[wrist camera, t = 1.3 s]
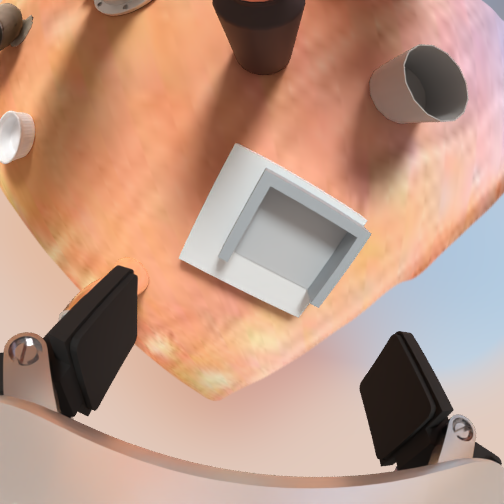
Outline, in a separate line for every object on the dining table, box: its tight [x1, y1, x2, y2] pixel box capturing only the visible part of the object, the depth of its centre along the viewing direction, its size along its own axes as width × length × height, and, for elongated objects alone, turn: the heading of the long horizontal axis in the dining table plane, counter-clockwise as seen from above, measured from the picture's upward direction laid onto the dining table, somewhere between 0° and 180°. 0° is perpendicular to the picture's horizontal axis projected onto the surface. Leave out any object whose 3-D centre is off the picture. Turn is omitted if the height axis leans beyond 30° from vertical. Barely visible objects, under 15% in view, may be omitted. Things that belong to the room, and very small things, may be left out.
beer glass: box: [59, 257, 149, 321], centre depth 33 cm, size 7×7×15 cm
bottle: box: [213, 0, 305, 75], centre depth 18 cm, size 7×7×20 cm
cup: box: [369, 44, 468, 124], centre depth 23 cm, size 8×8×10 cm
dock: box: [179, 143, 371, 318], centre depth 33 cm, size 18×16×6 cm
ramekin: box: [0, 111, 35, 164], centre depth 29 cm, size 9×9×4 cm
